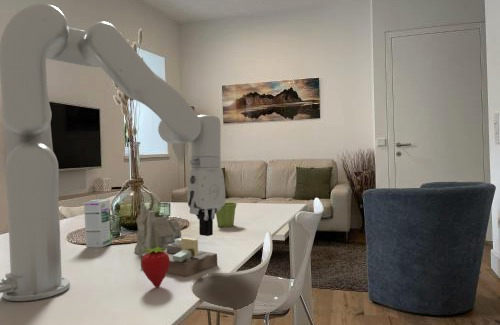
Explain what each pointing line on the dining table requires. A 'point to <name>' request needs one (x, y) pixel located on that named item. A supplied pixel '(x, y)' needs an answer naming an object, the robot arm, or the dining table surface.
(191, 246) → the beige flat square block
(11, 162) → the robot arm
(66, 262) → the dining table surface
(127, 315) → the dining table surface
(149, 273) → the strawberry
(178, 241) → the grey push button
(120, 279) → the dining table surface
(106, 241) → the syrup box
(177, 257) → the sage rocker
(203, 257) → the switch panel
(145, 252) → the grey irregular lump
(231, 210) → the plant pot
